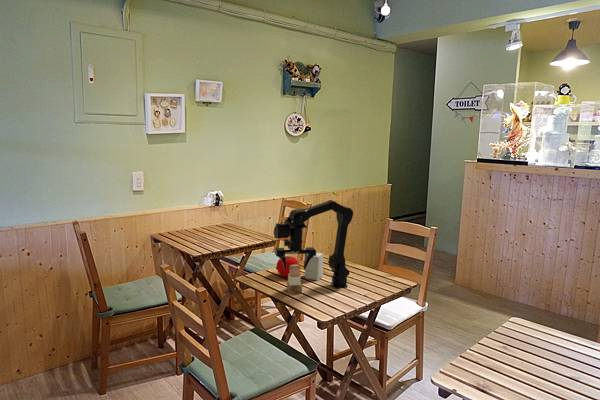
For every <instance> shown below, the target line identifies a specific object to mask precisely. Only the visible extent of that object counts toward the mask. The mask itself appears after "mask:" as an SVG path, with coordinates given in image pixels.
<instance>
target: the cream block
mask: <svg viewBox="0 0 600 400" xmlns="http://www.w3.org/2000/svg"><path fill="white" fill-rule="evenodd" d="M287 282H288V283H289V285H300V283H301V275H300V276H299V277H291V276H289V274H288V277H287Z"/></svg>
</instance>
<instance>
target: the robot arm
mask: <svg viewBox="0 0 600 400" xmlns="http://www.w3.org/2000/svg"><path fill="white" fill-rule="evenodd" d="M329 211H333V212H334V213H336V216H335V217H336V221H337V229H336V237H335V244H334V250H333V253H332V255H329V256H328V262H327V264H328V266H329V268H330V269H331V271H332V272H333V273H332V275H331V285H332V286H333V287H334V288H340V289H341V288H348V285H347V284H348V283H347V282H348V281H347V280H348V276H350V273H351V272H350V270H349V269H348V268H347V267H346V257H345V248H346V242H347V241H346V240H347V235H348V227H349V225H350V223H351V222H352V220H353V216H354V210H353V209H352V208H350V207H348V206H345V205H342V204H341V203H340V204H339V203H338V202H337V201H336V200H332V199H329V200H327V201H325V202H321V203H318V204H316V205H313V206H310V207H306V208H296V209H292V210H290V212H289V214H288V217H287V218H286V219H285V221H284V223H280V222H279V223H275V226H274V229H273V236H274V239H275V240H276V239H284V240H283V246H284V247H287V249H285V248H284V247H276V248H274V255H275V257H276V258H279V259H280V258H281V259H282V262H283V266H284V269H285V270H286V257H285V256H286V255H301V254H304V261H303V270H304V271H305V269H306V266H307V264H308V262H309V261H310V259H311V258H313V256H316V253H317V250H316V249H315V248H314V247H313V246H311V247H309V246H307V247H305V249H303V229H304V228H305V229H306V228H308V226H307V225H306V224H305V222H306V221H308V220H309V219H310V218H312V217H314V216H317V215H320V214H323V213H326V212H329ZM287 238H289V239H287Z"/></svg>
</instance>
